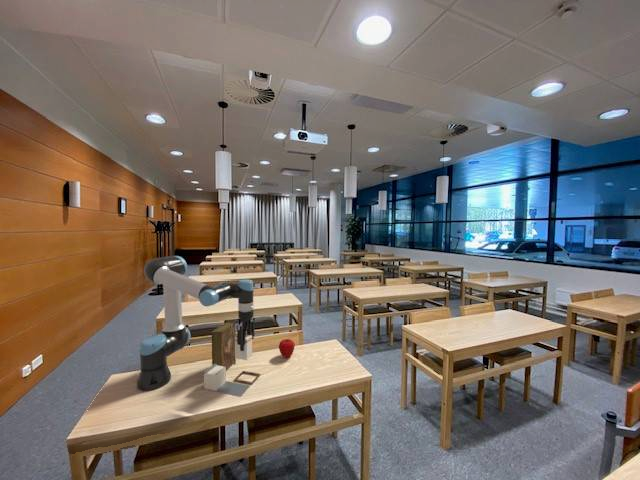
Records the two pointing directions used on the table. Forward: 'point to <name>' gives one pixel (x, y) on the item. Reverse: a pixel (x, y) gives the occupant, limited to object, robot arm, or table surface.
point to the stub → (248, 348)
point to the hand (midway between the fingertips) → (246, 353)
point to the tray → (247, 381)
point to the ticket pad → (214, 377)
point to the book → (224, 345)
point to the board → (232, 388)
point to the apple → (286, 347)
